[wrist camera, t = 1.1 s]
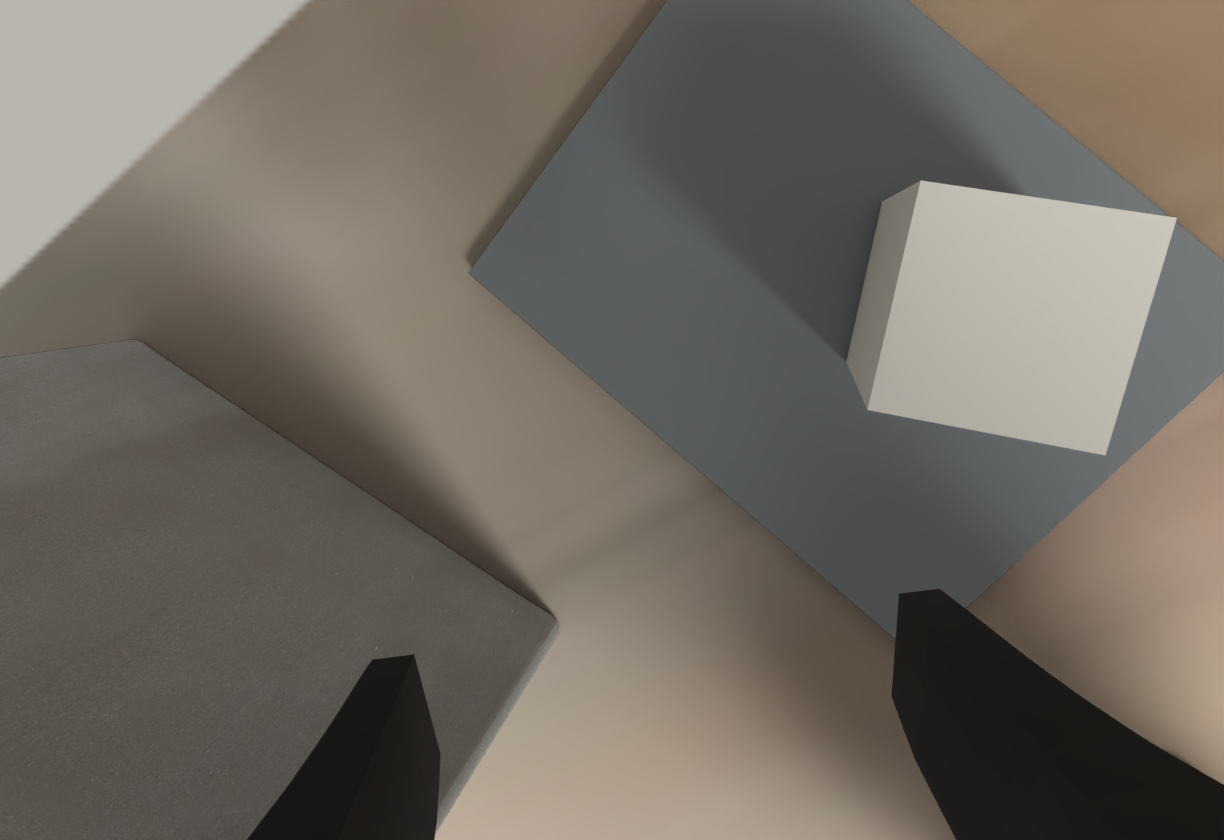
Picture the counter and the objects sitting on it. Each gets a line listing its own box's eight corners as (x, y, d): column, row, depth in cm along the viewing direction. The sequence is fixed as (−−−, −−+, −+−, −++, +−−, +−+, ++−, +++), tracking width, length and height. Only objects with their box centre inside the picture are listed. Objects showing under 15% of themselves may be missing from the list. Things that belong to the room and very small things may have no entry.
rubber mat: (1275, 312, 20) (1286, 313, 20) (911, 647, 24) (914, 655, 23) (758, -115, 21) (757, -123, 20) (474, 272, 24) (468, 272, 24)
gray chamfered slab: (51, 531, 29) (-1272, 1035, 10) (133, 333, 27) (-1352, 524, 8) (446, 806, 28) (-251, 1922, 9) (566, 621, 26) (-33, 1596, 7)
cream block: (1051, 227, 20) (1176, 217, 14) (1007, 390, 21) (1105, 455, 15) (880, 202, 21) (920, 180, 14) (845, 360, 22) (867, 409, 15)
